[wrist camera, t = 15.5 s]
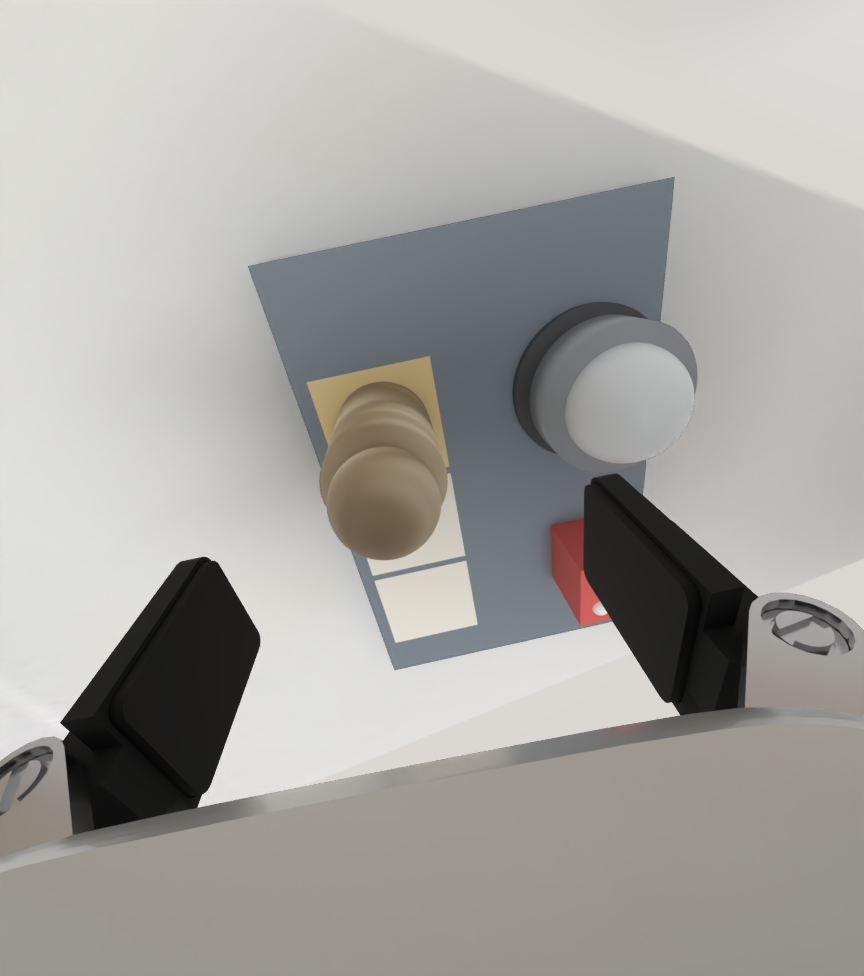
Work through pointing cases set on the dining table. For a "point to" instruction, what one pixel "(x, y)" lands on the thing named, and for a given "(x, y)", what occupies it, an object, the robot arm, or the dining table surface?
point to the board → (473, 397)
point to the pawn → (383, 473)
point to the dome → (614, 392)
